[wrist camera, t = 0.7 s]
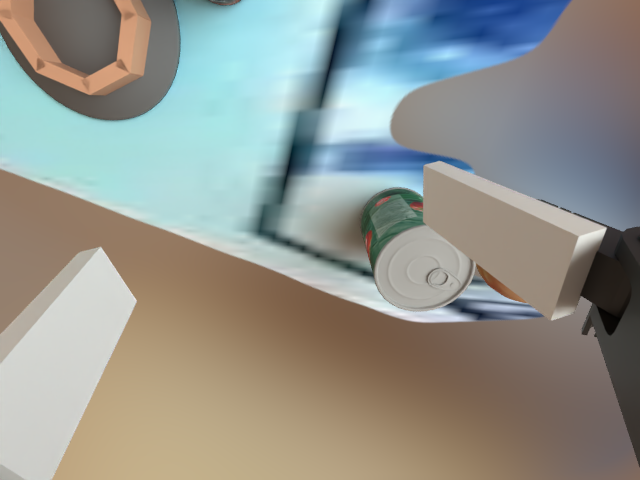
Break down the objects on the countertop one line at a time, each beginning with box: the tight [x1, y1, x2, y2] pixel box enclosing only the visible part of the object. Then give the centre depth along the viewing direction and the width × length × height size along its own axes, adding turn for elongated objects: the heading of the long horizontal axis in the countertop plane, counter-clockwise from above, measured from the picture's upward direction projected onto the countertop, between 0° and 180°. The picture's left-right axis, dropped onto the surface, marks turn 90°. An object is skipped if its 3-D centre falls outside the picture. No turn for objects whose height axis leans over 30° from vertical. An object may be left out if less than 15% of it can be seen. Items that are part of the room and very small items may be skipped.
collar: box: [0, 0, 151, 96], centre depth 24 cm, size 11×11×2 cm
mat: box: [0, 0, 180, 120], centre depth 25 cm, size 16×16×1 cm
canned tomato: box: [360, 187, 476, 311], centre depth 28 cm, size 8×8×11 cm
